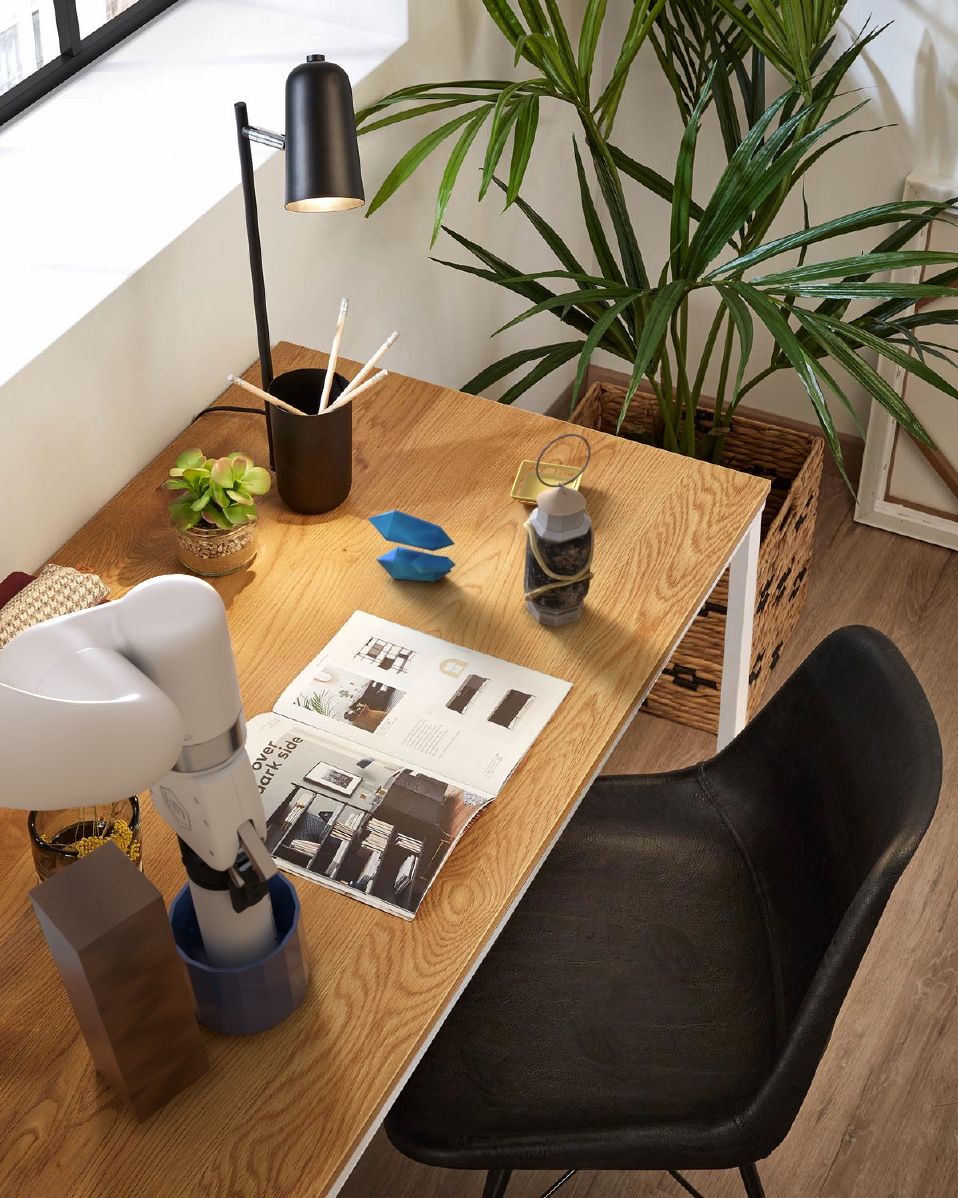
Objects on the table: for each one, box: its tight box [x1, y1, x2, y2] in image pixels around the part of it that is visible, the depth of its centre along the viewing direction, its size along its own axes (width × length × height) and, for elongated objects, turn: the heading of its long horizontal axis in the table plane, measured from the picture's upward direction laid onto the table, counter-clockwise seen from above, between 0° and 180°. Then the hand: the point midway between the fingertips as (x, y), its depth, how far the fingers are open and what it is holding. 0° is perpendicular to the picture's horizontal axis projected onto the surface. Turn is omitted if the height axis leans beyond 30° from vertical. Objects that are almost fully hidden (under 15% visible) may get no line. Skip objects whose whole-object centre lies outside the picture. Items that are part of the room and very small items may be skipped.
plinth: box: [27, 839, 211, 1125], centre depth 101 cm, size 7×7×25 cm
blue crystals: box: [367, 509, 457, 583], centre depth 156 cm, size 7×9×12 cm
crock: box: [167, 870, 311, 1037], centre depth 112 cm, size 11×11×10 cm
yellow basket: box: [509, 459, 585, 507], centre depth 171 cm, size 9×9×2 cm
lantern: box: [522, 433, 595, 628], centre depth 146 cm, size 9×8×25 cm
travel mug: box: [180, 838, 279, 968], centre depth 108 cm, size 6×7×20 cm
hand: (224, 873), depth 105 cm, fingers open, 6 cm apart
